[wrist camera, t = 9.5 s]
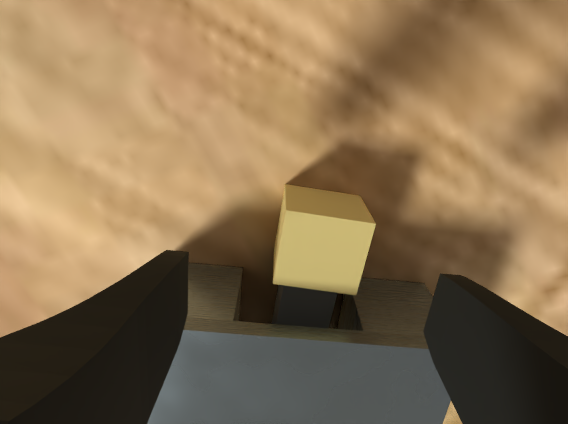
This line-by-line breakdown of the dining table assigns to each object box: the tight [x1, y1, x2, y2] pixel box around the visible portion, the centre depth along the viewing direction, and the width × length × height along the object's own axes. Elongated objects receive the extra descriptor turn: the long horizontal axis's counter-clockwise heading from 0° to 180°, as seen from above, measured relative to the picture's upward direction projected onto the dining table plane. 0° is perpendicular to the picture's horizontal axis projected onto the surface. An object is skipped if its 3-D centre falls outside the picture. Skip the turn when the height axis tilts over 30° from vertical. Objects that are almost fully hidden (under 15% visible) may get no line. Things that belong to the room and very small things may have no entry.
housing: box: [147, 263, 451, 424], centre depth 16 cm, size 12×5×4 cm, turn 84°
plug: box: [271, 184, 376, 328], centre depth 17 cm, size 12×3×3 cm, turn 171°
